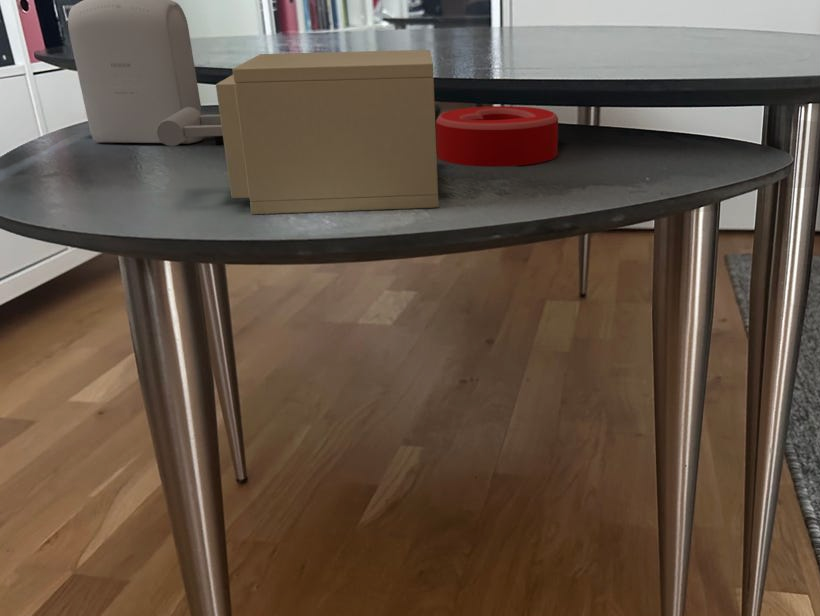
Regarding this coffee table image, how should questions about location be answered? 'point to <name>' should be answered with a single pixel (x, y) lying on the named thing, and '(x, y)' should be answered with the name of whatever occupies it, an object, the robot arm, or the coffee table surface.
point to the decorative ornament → (497, 136)
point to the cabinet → (338, 131)
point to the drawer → (213, 133)
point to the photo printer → (132, 67)
